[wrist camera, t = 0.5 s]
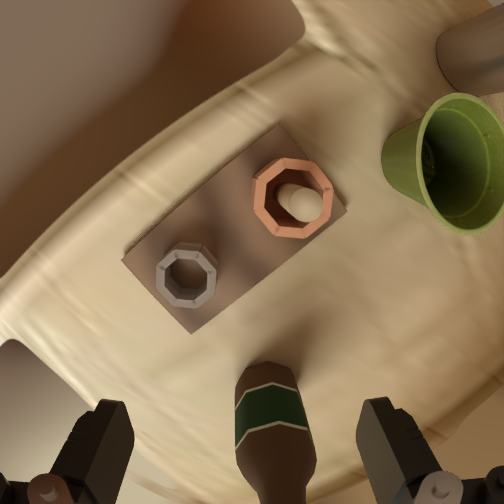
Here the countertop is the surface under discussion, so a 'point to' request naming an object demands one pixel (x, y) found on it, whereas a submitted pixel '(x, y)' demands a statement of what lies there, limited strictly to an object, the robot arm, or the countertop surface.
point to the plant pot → (451, 163)
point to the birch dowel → (298, 201)
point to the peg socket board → (218, 240)
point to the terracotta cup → (273, 212)
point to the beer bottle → (273, 435)
